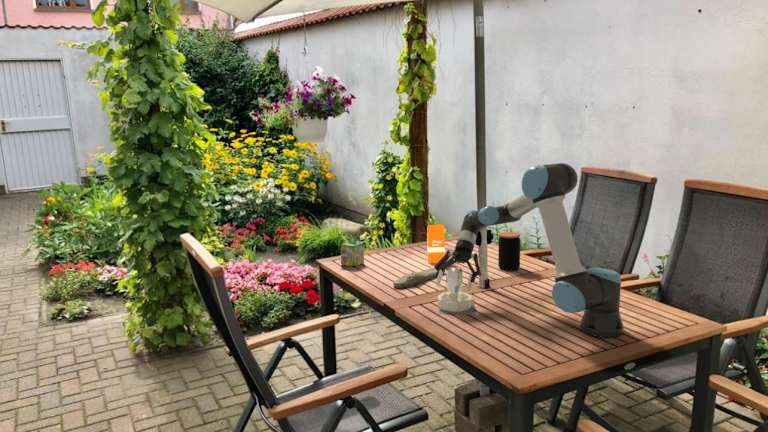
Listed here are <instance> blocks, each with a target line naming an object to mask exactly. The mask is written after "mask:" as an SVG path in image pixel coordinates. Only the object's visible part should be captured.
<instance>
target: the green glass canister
mask: <svg viewBox="0 0 768 432" xmlns="http://www.w3.org/2000/svg"><path fill="white" fill-rule="evenodd" d="M352 240H353V241H352ZM364 245H365V244H364V242H358V241H357V237H354V236H349V237H348V241H347V242H344V243H341V244H340V265H341V264H343V265H342V266H344V265H347V266H346V267H349V266H356V267H358V266H357V265H359V266H361V265H364V264H365V257H364V256H365V252H364V250H365V249H364ZM363 263H364V264H363ZM360 264H361V265H360Z"/></svg>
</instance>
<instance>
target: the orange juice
mask: <svg viewBox="0 0 768 432" xmlns="http://www.w3.org/2000/svg"><path fill="white" fill-rule="evenodd" d="M426 232H427V233H426V235H427V236H426V238H427V239H426V241H427V244H426V245H427V262H428V264H437V263H438V262H439V261H440V260H441V259H442V257H443V256H444V255H445V254H446V249H445V248H446V246H445V244H446V243H445V242H446V241H445V240H446V239H445V237H446V236H445V225H444V224H427V231H426Z"/></svg>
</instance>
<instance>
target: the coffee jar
mask: <svg viewBox="0 0 768 432" xmlns="http://www.w3.org/2000/svg"><path fill="white" fill-rule="evenodd" d="M520 237H521V233H519V232H516V231H502V232H499V233H498V269H499V270H501V271H504V272H505V271H506V272H514V271H518V270H519V268H520V266H521V238H520Z"/></svg>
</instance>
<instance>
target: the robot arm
mask: <svg viewBox="0 0 768 432" xmlns="http://www.w3.org/2000/svg"><path fill="white" fill-rule="evenodd" d="M578 177H579V176H578V173H577V171H576V170H575V168H573V167H572V166H571V165H569V163H562V162H559V163H552V164H538V165H536V166H535V165H534V166H530V167H529V168H528V169H526V171H525V172H524V174H523V177H522V178H521V191H522V193H523V194H521V195H520V196H518V197H516V198H515V199H513V200H511V201H510V202H509V203H506V204H505V205H501V206H492V205H487V206H484V207H483V208H480V209H479V210H475V209H472V210H471V209H470V210H467V211H466V212H465V216H463V220H462V225H461V228H460V232H459V235H458V237H457V241H456V244H455V247H454V250H453V251H450V250H449V249H447V250H446V251H445V255H444V256H443V257H442V259H441V260H440V261H439V262H438V263H435V265H434V267H433V268H435V269H436V270H437V274H436V277H435V278H436V281H435V285H436V286H437V287H440V285H441V282H442V279H443V275H444V273H443V272H442V271H444V270H445V271H446V269H447V268H450V267H451V266H452V265H454V264H456V263H457V264H465V263H466V264H467V266H468V268H469V270H470V272H471V273H469V277H468V280H467V284H466V289H467V291H468V292H469V291H470V290H471V289H472V288H471V287H472V284H474V283H475V281H476V277H478V276H479V277H480V276H482V273H481V272H482V271H481V268H480V265H479V255H478V253H477V252H475V253H473V252H474V248H475V244H476V241H477V237H478V235H479V231H480V230H483V229H485V228H487V227H491V226H497V225H502V224H507V223H515V222H518V221H520V220H521V218H522V217H523V216H525V215H526V214H528V213H529V212H531V211H533V210H535V209H537V208H538V210H539V212H540V217H541V220H542V224H543V227H544V231H545V234H546V237H547V241H548V244H549V247H550V248H549V249H550V251H551V256H552V259H553V261H554V265H555V268H556V274H555V276H554V281H555V283H554V284H553V286H552V290H551V296H552V300H553V302H554V303H555V305H556V306H557V307H558V308H559V309H561V310H562V311H563V312H564V313H568V314H574V313H580V312H581V313H582V312H583V311H584V312H583V314H582V317H581V319H580V322H579V323H580V324H579V329H580V330H582V333H584V332H585V333H584V334H586V333H587V334H586V335H589V334H591V335H590V336H592V335H596V336H602V337H601V338H604V337H611V338H616V337H615V336H617V337H620V336H622V335H623V334H624V331H625V330H624V323H623V320H622V316H621V313H620V304H621V303H620V302H621V286H622V282H621V281H622V278H621V274H620V273H619V272H618V271H615V270H612V269H608V268H604V267H603V268H601V267H590V268H588V269H586V268H585V267H583V266H582V263H581V260H580V258H579V253H578V250H577V247H576V244H575V239H574V237H573V233H572V230H571V226H570V223H569V220H568V217H567V212H566V209H565V204H564V200H565V198H566V195H567V194H570V193H571V192H572V191H574V189H576V187H577V186H578V180H579V179H578ZM471 259H473V261H474V265H475V269H476V270H475V269H474V267H473V266H472V264H471V262H470V260H471ZM622 333H623V334H622ZM621 334H622V335H621ZM619 335H620V336H619ZM596 336H595V337H596Z"/></svg>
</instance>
